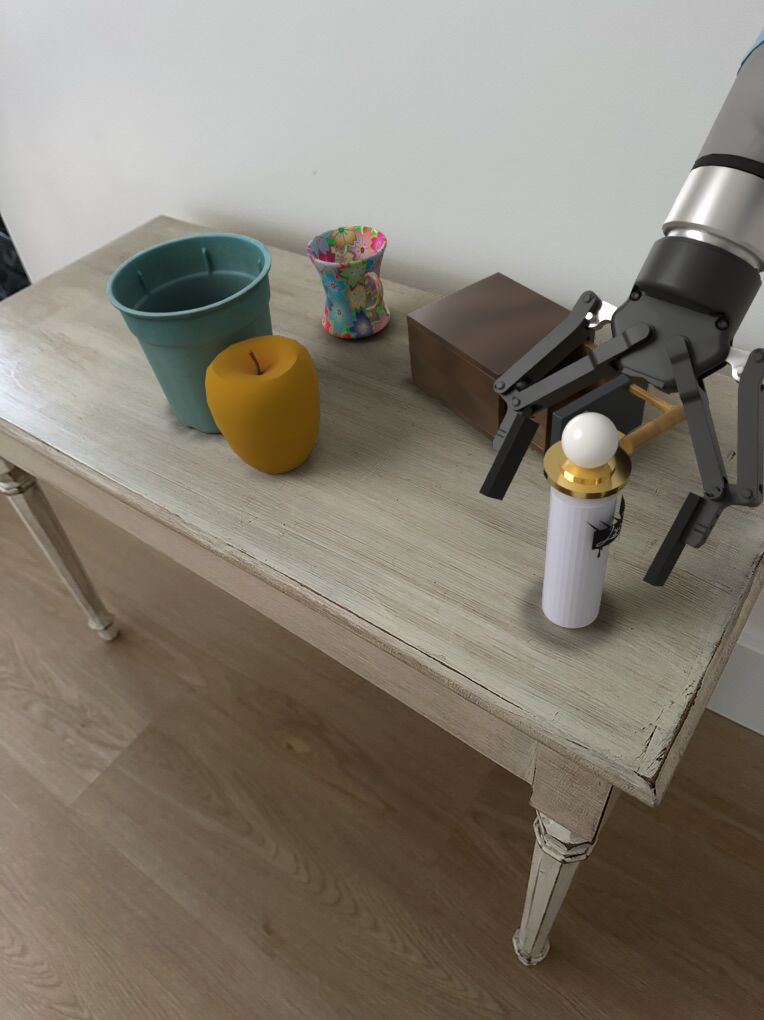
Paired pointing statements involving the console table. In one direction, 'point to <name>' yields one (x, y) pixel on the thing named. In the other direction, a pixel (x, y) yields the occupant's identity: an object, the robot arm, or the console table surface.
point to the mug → (351, 280)
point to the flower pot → (193, 310)
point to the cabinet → (477, 344)
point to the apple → (266, 401)
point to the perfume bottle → (581, 517)
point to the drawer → (605, 408)
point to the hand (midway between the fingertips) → (566, 537)
